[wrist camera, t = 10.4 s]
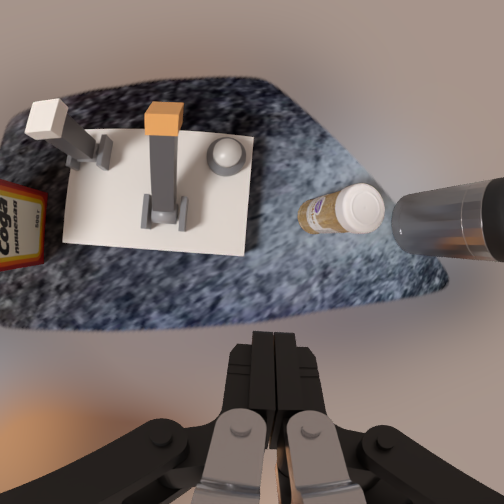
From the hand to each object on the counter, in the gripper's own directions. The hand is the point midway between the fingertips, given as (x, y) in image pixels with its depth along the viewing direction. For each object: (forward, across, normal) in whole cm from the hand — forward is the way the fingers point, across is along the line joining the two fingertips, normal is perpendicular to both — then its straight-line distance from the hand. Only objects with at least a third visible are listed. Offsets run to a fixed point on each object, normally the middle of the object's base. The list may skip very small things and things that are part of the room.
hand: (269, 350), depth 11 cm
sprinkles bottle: (+29, -6, +3) cm, 30 cm away
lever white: (+23, +20, -5) cm, 31 cm away
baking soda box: (+21, +32, +4) cm, 39 cm away
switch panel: (+26, +13, 0) cm, 29 cm away
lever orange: (+22, +11, +2) cm, 24 cm away
